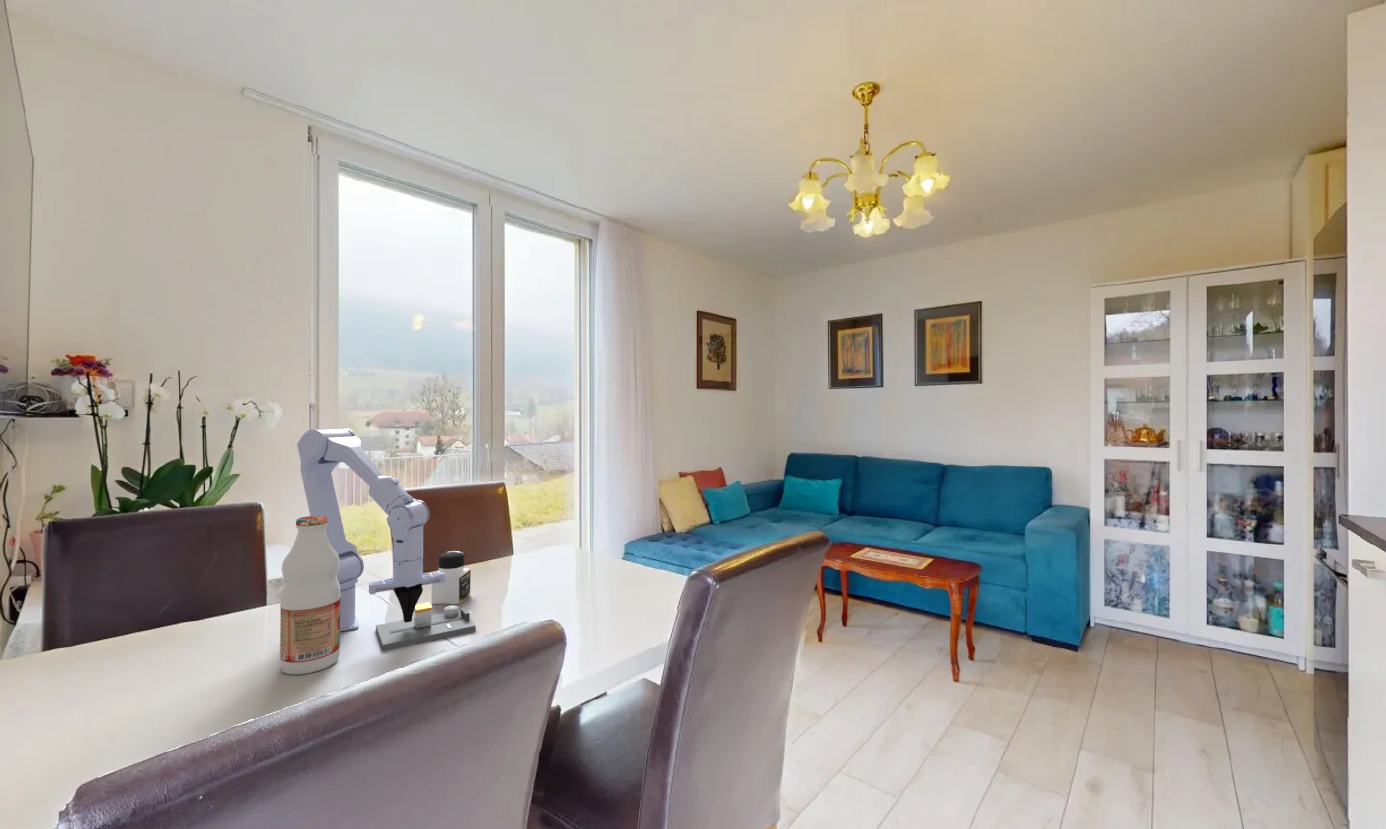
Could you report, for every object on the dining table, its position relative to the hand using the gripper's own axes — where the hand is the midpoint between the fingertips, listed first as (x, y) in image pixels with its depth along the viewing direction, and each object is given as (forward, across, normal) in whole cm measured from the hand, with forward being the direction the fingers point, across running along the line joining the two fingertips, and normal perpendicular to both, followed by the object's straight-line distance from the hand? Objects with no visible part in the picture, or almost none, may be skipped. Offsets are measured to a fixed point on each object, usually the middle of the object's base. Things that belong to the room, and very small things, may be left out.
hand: (407, 620), depth 120 cm
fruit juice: (+3, -17, -5) cm, 18 cm away
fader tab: (+1, +3, 0) cm, 3 cm away
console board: (+3, +4, 0) cm, 5 cm away
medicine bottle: (+3, +13, +18) cm, 22 cm away
